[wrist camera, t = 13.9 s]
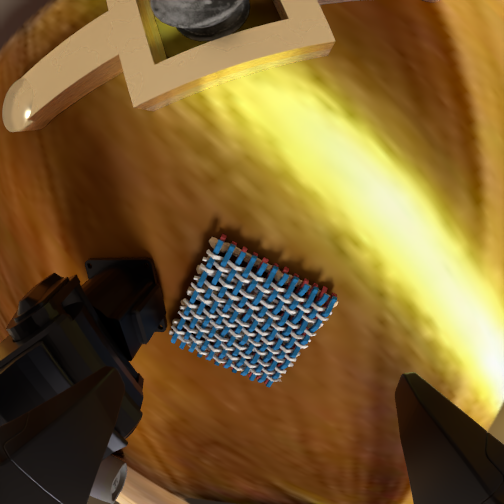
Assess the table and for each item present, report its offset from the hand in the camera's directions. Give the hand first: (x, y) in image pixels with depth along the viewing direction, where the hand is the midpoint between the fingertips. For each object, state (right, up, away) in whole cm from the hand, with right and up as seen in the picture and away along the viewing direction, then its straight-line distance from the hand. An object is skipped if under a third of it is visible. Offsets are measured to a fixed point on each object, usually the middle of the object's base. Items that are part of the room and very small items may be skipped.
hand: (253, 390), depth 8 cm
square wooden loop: (-8, +19, +8) cm, 22 cm away
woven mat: (0, -1, +15) cm, 15 cm away
